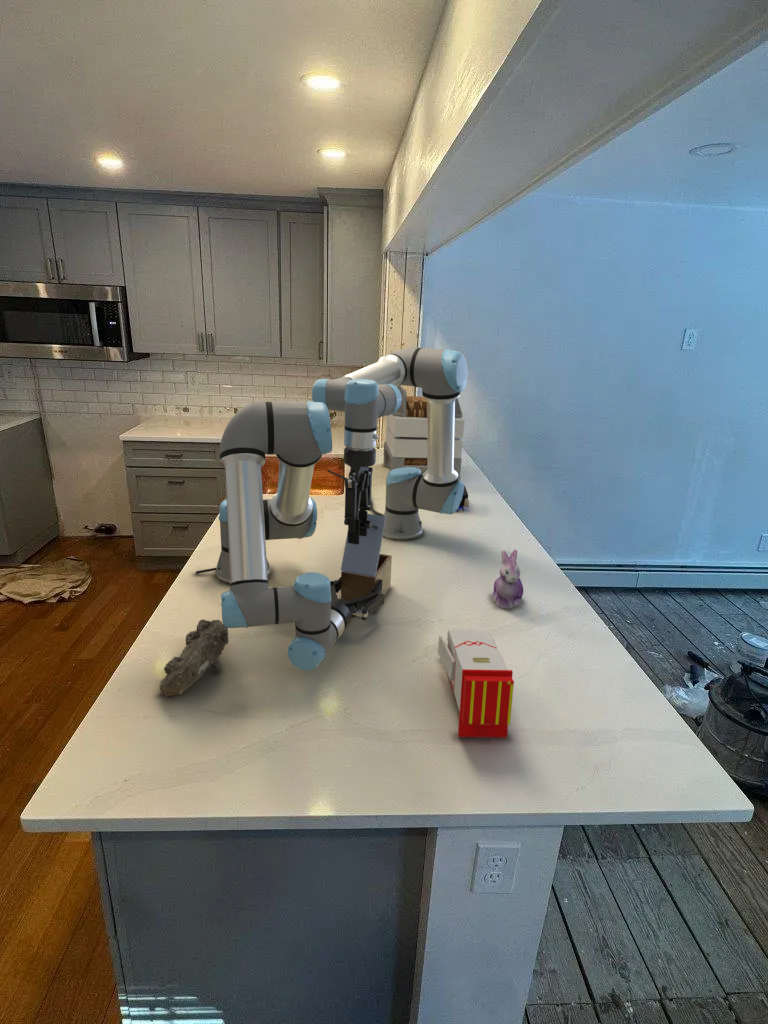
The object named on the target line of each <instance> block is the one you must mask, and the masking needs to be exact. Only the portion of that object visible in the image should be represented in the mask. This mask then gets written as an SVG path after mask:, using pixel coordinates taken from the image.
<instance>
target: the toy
mask: <svg viewBox="0 0 768 1024" xmlns="http://www.w3.org/2000/svg"><path fill="white" fill-rule="evenodd" d="M446 640H447V643H446V641H445V639H444V636H443V635H442V634H439V637H438V646H437V656H438V657H439V659H440V661H441V663H442V666H443V668H444V670H445V672H446V674H447V677H448V679H449V681H450V684H451V687H452V690H453V693H454V697H455V701H456V705H457V708H458V711H459V714H458V715H459V716H458V730H457V731H458V732H457V737H458V738H508V731H509V726H510V725H511V717H512V707H513V697H514V696H513V695H514V684H515V680H514V679H513V673H514V671H513V670H512V669H508V667H507V665H506V662H505V661H504V659H503V658H502V655H501V653H500V651H499V649H498V647H497V643H496V639H495V637H494V635H493V634H491V632H490V631H489V629H467V628H466V629H465V628H463V629H461V628H460V629H459V628H448V630H447V639H446Z"/></svg>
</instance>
